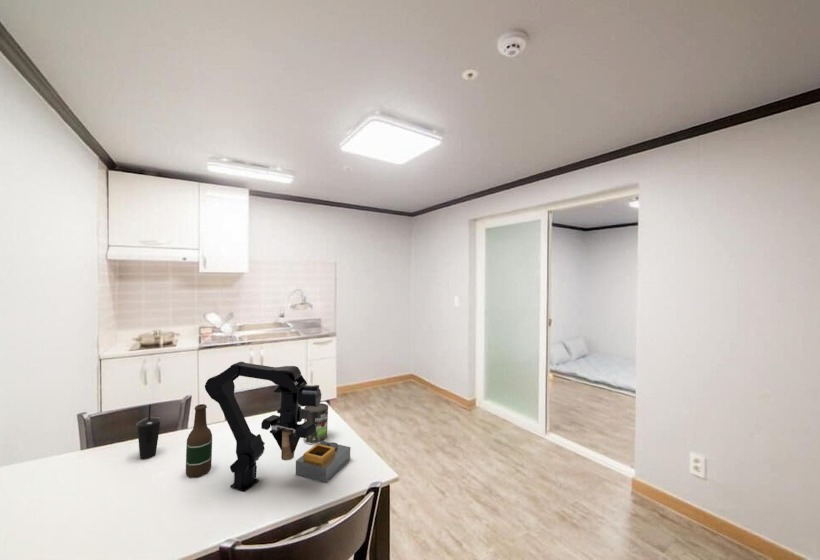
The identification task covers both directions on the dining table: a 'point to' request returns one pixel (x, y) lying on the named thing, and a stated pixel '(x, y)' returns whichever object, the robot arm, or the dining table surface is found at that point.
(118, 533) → the dining table surface
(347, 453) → the grey block with socket
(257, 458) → the robot arm
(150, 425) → the drinking cup
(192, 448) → the beer bottle
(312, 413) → the coffee can
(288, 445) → the wooden plug
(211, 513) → the dining table surface
